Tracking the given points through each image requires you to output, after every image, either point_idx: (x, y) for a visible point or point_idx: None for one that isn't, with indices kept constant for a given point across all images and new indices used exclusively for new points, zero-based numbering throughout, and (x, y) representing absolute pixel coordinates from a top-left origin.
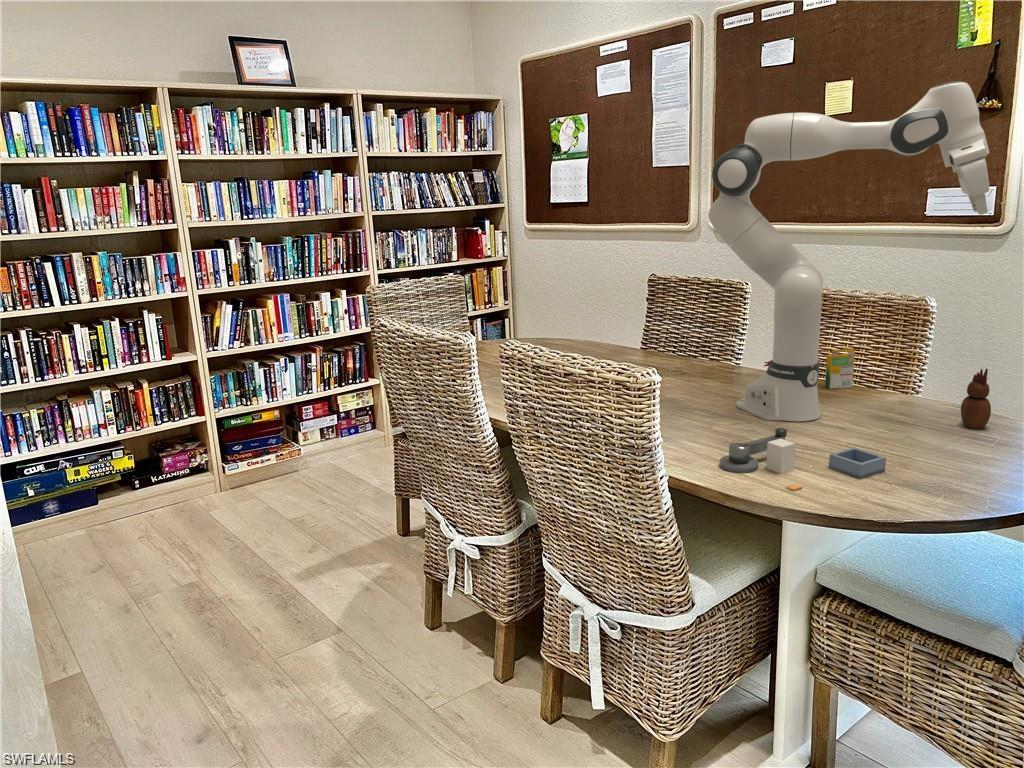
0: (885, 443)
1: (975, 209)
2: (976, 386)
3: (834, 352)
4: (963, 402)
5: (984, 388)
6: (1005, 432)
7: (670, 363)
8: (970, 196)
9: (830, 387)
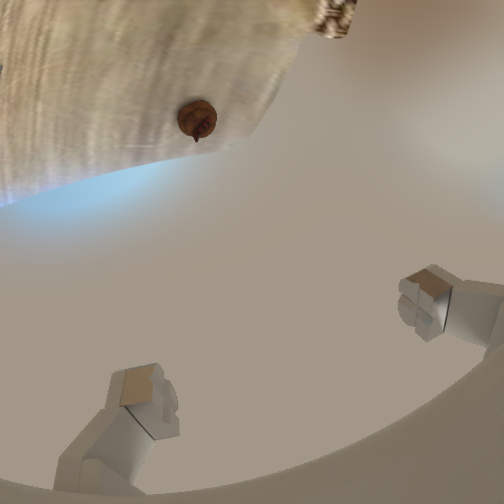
0: (69, 58)
1: (410, 290)
2: (188, 125)
3: None
4: (194, 105)
5: (189, 134)
6: (188, 146)
7: None
8: (501, 318)
9: None
